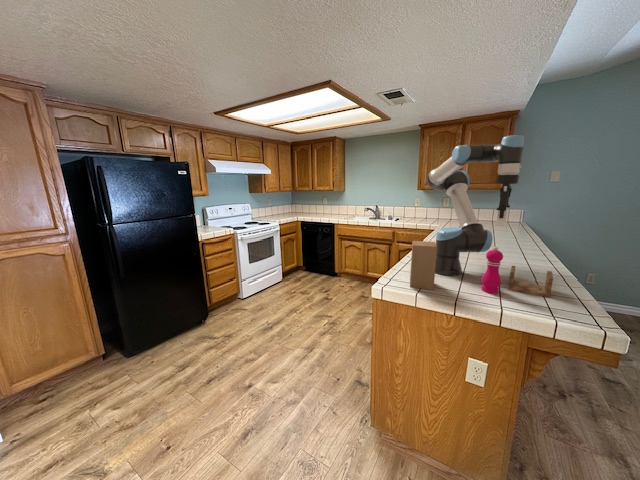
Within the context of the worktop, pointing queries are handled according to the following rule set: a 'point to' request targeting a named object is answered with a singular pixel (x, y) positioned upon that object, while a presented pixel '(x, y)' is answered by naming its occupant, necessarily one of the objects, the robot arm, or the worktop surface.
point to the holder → (531, 285)
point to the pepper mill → (492, 272)
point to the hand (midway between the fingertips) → (501, 223)
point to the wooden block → (423, 264)
